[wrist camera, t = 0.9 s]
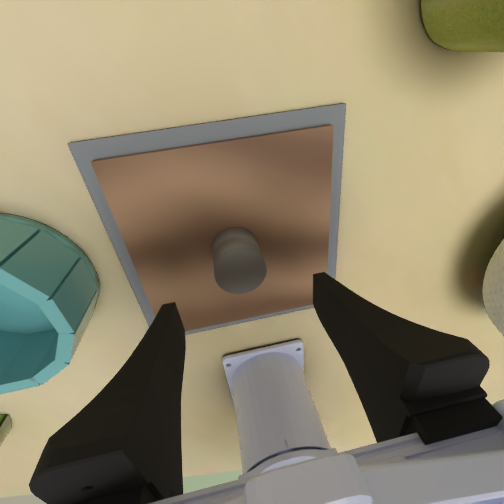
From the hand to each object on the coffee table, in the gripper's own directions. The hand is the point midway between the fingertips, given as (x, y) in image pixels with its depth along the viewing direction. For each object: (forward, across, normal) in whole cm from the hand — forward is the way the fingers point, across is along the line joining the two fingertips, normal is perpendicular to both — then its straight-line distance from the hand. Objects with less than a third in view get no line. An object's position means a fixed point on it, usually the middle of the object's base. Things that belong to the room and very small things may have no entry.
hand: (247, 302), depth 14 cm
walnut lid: (+6, 0, 0) cm, 7 cm away
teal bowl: (+7, +15, 0) cm, 17 cm away
